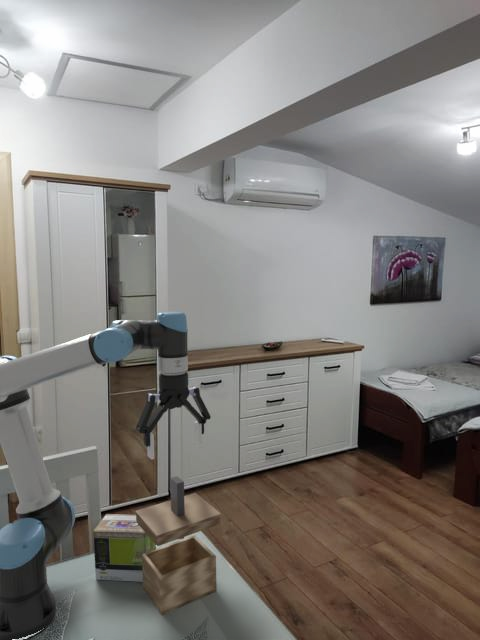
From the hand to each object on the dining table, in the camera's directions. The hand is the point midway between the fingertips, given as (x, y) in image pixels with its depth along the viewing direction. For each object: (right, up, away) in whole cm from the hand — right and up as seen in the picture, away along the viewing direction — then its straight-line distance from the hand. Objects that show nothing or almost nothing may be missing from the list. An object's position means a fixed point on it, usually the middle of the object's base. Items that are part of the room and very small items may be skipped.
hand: (175, 451), depth 123 cm
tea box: (-16, -38, +12) cm, 43 cm away
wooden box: (+1, -38, +4) cm, 39 cm away
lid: (0, -19, +2) cm, 19 cm away
